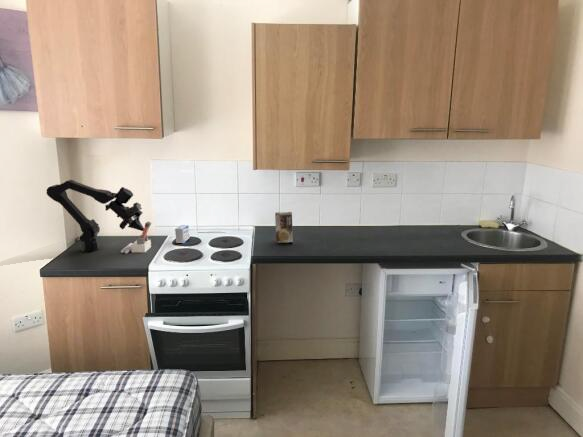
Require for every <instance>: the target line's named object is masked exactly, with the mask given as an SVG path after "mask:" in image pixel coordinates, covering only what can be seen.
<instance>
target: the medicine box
mask: <svg viewBox="0 0 583 437" xmlns="http://www.w3.org/2000/svg"><path fill="white" fill-rule="evenodd" d="M189 227H190V226H189V225H188V224H187V225H186V224H183V225H182V224H181V225H180V226H178V227H176V228H175V229H174V232H175V234H174V235H175V240H176V243H185V242H186V241H187V240H188V239H189V238H190V228H189ZM186 243H187V242H186ZM186 243H185V244H186Z"/></svg>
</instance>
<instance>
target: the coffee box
mask: <svg viewBox="0 0 583 437" xmlns="http://www.w3.org/2000/svg"><path fill="white" fill-rule="evenodd" d="M274 214H275V215H274V220H275V221H274V224H275V242H276V241H277V242H293V243H294V234H293V233H294V232H293V230H294V229H293V212H292V211H283V212H281V211H279V212H275V213H274Z"/></svg>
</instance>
